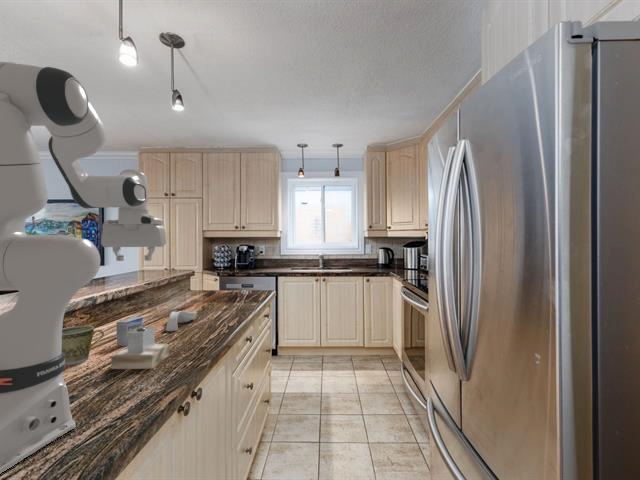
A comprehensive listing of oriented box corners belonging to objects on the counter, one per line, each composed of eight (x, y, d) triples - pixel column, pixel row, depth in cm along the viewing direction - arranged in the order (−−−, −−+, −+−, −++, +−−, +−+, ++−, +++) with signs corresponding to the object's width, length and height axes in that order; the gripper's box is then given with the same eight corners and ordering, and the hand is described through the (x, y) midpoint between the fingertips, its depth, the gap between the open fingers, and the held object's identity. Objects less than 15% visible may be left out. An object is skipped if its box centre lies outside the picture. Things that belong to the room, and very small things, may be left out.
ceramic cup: (46, 369, 94) (46, 335, 94) (64, 357, 103) (63, 326, 103) (97, 364, 97) (97, 332, 97) (109, 353, 107) (109, 323, 107)
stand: (152, 368, 94) (151, 355, 94) (111, 368, 94) (111, 355, 94) (169, 355, 105) (169, 343, 105) (133, 355, 105) (133, 343, 105)
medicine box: (126, 346, 114) (126, 322, 114) (116, 345, 115) (116, 321, 115) (143, 339, 122) (143, 317, 122) (133, 339, 123) (132, 316, 123)
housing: (154, 345, 103) (154, 325, 103) (142, 352, 96) (142, 331, 96) (140, 345, 103) (140, 325, 103) (127, 352, 96) (127, 332, 96)
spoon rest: (173, 318, 155) (173, 304, 155) (199, 317, 157) (198, 303, 157) (157, 332, 132) (157, 315, 132) (187, 331, 134) (187, 314, 134)
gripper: (96, 219, 104) (96, 261, 104) (158, 218, 104) (159, 261, 104) (109, 220, 111) (109, 260, 111) (168, 220, 111) (168, 259, 111)
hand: (134, 260), depth 107 cm, fingers open, 8 cm apart
